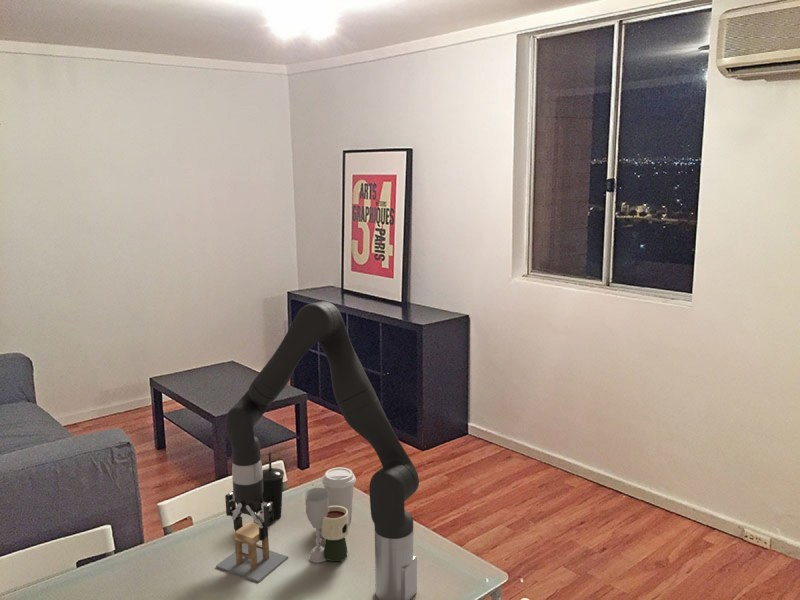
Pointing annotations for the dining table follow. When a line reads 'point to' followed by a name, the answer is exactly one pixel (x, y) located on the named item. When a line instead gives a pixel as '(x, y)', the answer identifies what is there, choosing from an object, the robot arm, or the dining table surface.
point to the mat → (245, 568)
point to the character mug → (335, 533)
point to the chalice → (317, 517)
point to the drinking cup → (273, 488)
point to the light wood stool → (250, 544)
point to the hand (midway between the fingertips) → (250, 535)
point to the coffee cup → (340, 488)
